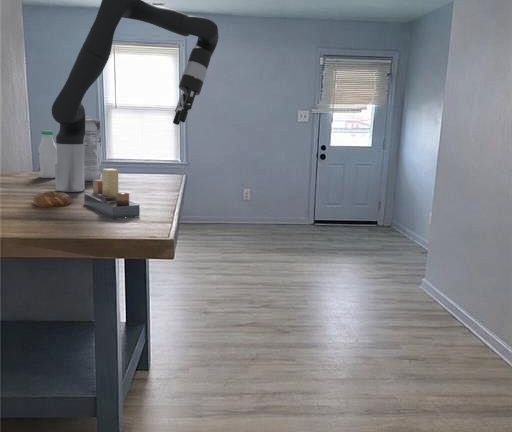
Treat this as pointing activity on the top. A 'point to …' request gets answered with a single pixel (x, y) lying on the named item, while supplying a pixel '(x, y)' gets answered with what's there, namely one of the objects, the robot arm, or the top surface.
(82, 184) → the robot arm
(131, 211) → the plane body
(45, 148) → the milk bottle
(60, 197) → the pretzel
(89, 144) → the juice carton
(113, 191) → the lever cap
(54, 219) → the top surface
